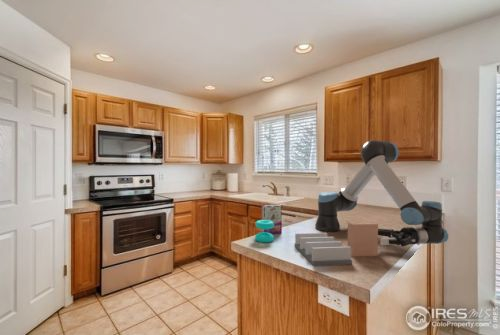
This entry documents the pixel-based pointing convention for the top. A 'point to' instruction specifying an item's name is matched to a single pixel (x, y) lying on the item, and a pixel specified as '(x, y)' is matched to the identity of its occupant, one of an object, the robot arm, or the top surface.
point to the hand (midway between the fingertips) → (370, 236)
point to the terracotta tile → (363, 238)
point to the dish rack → (322, 249)
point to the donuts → (264, 235)
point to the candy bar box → (273, 217)
